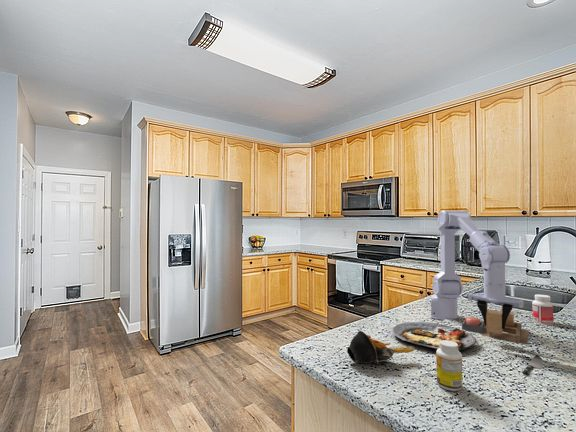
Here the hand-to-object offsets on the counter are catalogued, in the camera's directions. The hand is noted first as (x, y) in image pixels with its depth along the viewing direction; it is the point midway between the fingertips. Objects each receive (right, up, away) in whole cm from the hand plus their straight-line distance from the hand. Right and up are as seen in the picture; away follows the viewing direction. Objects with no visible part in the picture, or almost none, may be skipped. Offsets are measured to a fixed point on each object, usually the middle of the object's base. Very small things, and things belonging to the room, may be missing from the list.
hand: (494, 326), depth 99 cm
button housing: (+1, -6, +13) cm, 14 cm away
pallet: (+10, -6, +9) cm, 15 cm away
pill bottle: (+31, -7, +20) cm, 38 cm away
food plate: (-17, -7, +6) cm, 19 cm away
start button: (+1, -5, +13) cm, 14 cm away
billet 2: (+12, -5, +12) cm, 18 cm away
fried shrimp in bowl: (-39, -6, -11) cm, 41 cm away
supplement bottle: (-27, -6, -24) cm, 36 cm away
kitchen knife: (+3, -7, -13) cm, 15 cm away
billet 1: (0, -1, 0) cm, 1 cm away
